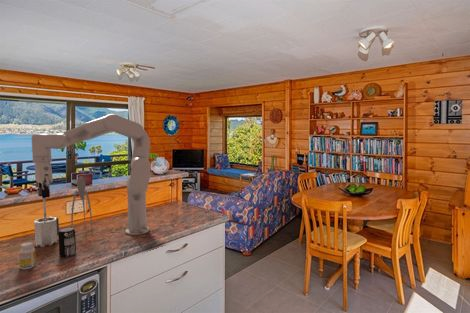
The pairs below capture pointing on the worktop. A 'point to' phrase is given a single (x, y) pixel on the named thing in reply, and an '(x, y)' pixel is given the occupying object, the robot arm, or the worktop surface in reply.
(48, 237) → the press carafe
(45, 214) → the grey knobbed rod
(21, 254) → the supplement bottle
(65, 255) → the beverage can
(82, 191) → the juicer
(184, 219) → the worktop surface
